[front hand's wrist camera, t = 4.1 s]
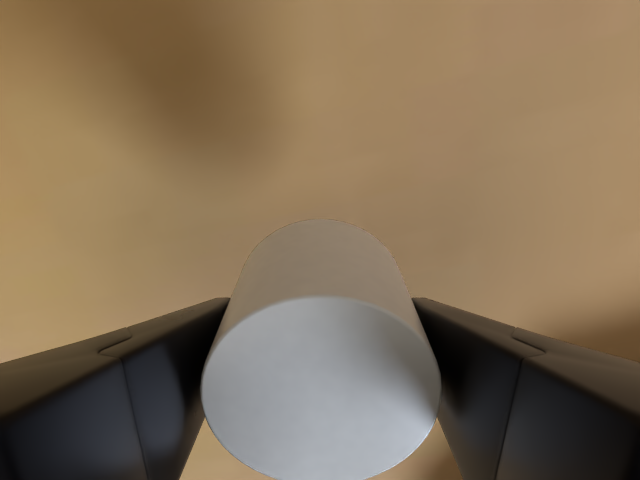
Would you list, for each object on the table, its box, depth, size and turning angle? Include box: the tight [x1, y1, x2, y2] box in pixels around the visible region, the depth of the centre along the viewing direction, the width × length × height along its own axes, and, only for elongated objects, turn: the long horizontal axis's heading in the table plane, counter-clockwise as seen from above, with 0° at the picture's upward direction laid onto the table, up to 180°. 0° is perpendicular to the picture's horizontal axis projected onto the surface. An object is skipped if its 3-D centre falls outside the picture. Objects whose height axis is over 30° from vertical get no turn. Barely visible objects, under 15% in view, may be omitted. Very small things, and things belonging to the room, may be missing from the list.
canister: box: [200, 219, 442, 480], centre depth 10 cm, size 5×5×4 cm
